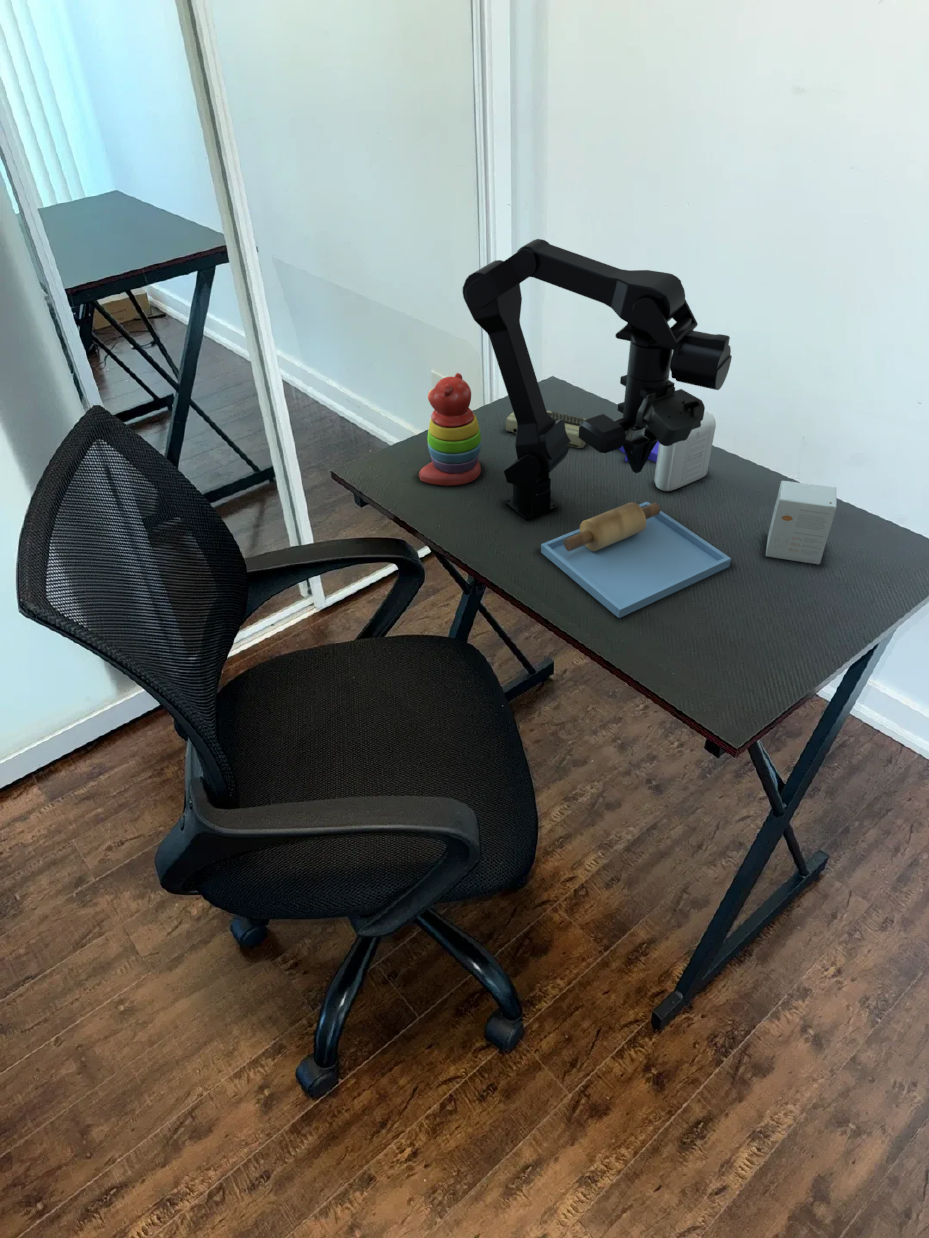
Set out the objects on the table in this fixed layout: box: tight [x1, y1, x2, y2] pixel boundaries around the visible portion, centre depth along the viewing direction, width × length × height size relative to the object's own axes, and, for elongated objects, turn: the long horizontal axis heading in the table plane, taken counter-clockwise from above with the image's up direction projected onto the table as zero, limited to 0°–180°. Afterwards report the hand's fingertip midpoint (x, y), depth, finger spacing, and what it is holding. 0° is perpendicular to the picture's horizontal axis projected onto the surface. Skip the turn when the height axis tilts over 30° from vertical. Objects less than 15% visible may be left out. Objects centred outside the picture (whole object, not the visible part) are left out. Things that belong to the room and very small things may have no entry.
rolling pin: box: [564, 501, 661, 551], centre depth 128 cm, size 5×18×5 cm, turn 121°
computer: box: [505, 409, 587, 449], centre depth 157 cm, size 16×8×3 cm, turn 61°
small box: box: [765, 480, 837, 565], centre depth 124 cm, size 8×6×10 cm
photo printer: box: [653, 410, 717, 492], centre depth 139 cm, size 10×4×12 cm, turn 123°
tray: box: [540, 501, 732, 619], centre depth 126 cm, size 19×21×2 cm
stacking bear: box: [418, 372, 482, 486], centre depth 142 cm, size 11×10×18 cm
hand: (636, 471), depth 124 cm, fingers closed
